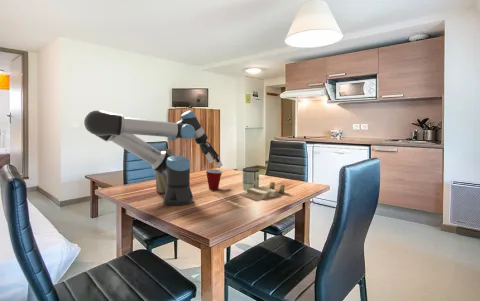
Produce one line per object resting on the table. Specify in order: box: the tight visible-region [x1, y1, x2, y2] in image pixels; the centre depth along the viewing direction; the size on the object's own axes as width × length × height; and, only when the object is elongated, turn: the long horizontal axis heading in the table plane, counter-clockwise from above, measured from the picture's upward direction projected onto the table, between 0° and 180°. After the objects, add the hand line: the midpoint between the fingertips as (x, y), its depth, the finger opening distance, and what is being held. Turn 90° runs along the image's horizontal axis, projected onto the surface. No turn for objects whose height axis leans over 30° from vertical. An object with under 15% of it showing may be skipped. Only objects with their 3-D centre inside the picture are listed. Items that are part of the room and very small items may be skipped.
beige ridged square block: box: [246, 185, 279, 199], centre depth 153 cm, size 12×12×3 cm
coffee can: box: [241, 167, 260, 192], centre depth 165 cm, size 10×10×14 cm
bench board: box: [238, 181, 291, 203], centre depth 154 cm, size 26×16×6 cm, turn 127°
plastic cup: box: [205, 168, 223, 191], centre depth 170 cm, size 11×11×12 cm
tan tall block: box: [155, 148, 174, 194], centre depth 164 cm, size 10×10×25 cm
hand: (216, 164), depth 168 cm, fingers open, 13 cm apart
